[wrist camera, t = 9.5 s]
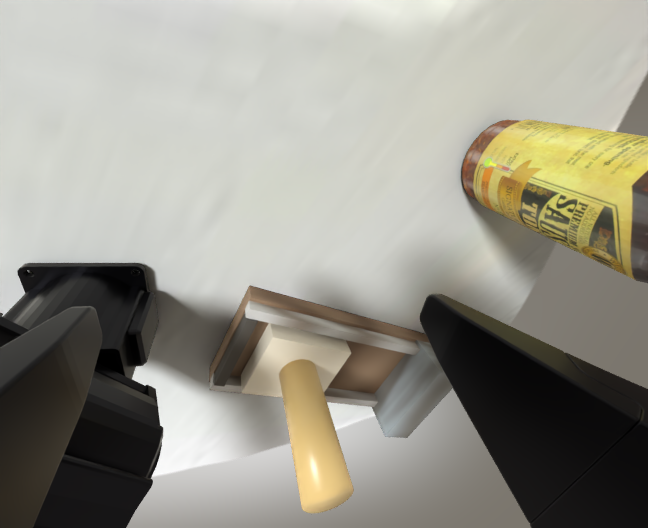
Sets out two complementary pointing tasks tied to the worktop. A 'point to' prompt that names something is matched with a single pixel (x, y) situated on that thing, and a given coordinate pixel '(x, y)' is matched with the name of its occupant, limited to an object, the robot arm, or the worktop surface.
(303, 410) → the rail carriage
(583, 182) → the sauce bottle
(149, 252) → the worktop surface
